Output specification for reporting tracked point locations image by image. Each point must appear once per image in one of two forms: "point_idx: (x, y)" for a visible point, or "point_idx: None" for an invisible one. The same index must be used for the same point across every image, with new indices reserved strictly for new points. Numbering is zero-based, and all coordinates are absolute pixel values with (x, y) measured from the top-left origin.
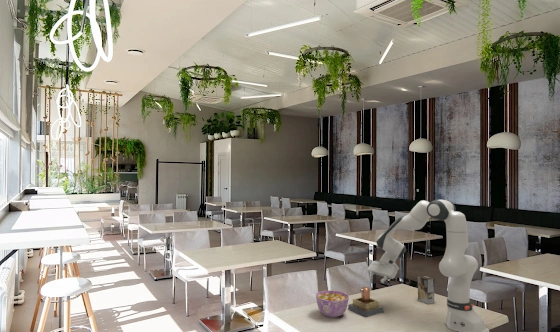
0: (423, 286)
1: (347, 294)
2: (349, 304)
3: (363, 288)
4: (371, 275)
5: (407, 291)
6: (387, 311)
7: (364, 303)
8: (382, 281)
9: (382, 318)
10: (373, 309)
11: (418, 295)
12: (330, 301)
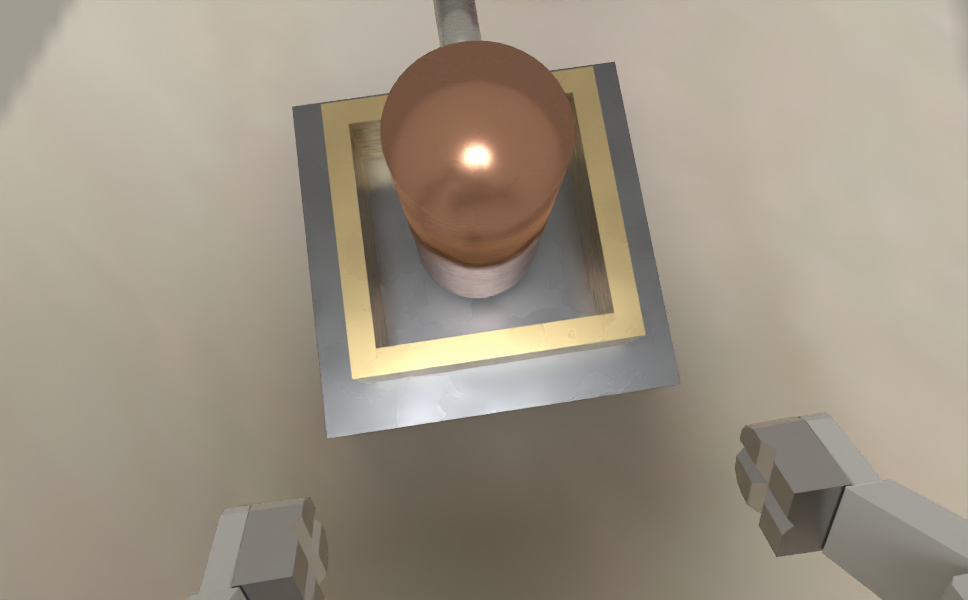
0: None
1: None
2: (612, 77)
3: (472, 68)
4: (861, 527)
5: None
6: (342, 509)
7: (367, 113)
8: (229, 529)
9: (190, 288)
10: (322, 252)
11: None
12: None
